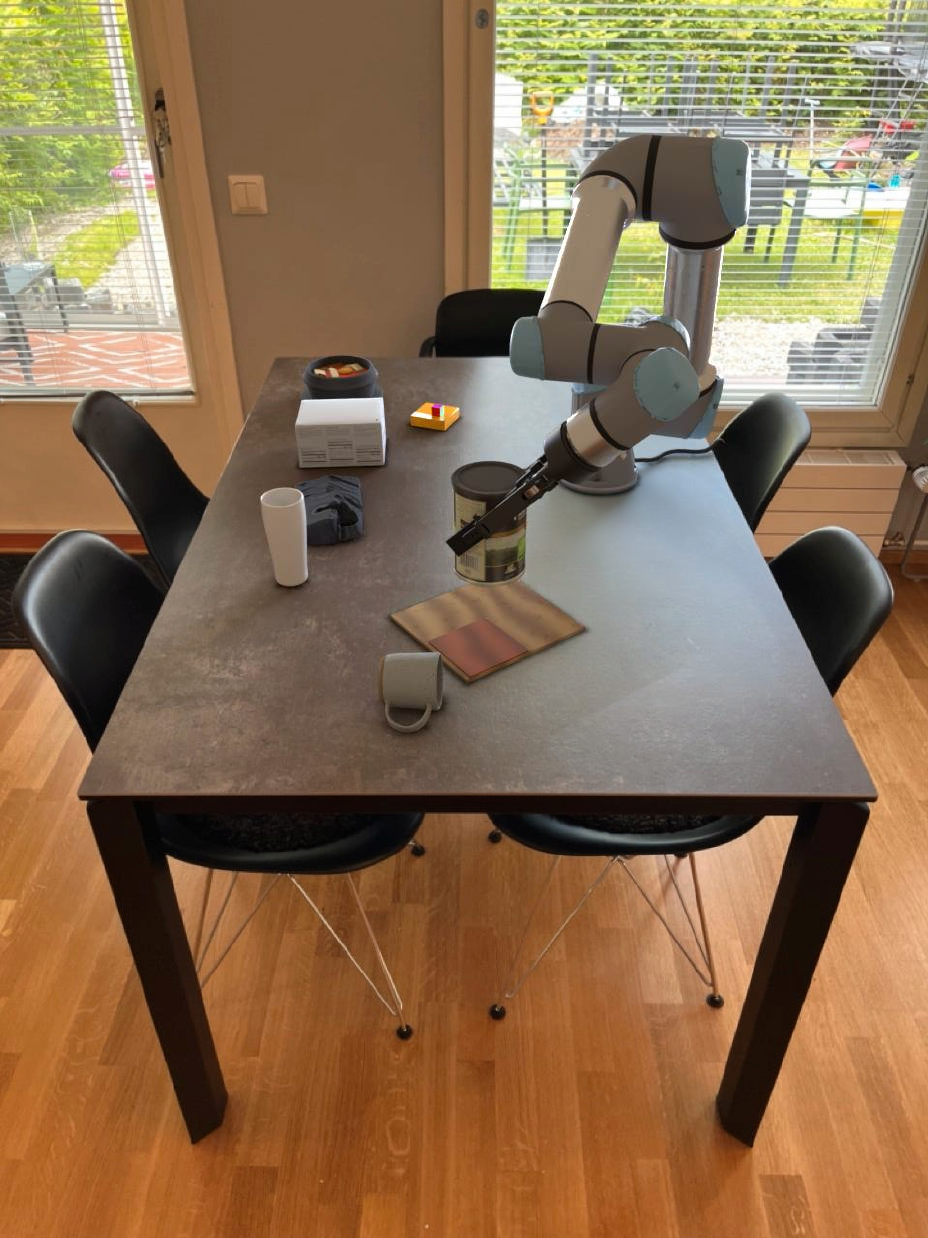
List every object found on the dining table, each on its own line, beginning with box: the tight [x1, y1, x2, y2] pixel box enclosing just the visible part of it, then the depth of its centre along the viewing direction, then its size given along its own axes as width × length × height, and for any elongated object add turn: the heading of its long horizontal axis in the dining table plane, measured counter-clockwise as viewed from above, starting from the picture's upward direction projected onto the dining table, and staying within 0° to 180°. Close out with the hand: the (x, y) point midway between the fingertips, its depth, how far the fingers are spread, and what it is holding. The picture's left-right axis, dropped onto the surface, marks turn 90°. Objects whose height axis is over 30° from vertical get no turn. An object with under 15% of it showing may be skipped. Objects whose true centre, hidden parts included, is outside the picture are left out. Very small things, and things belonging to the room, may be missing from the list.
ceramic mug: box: [377, 651, 445, 733], centre depth 129 cm, size 11×8×8 cm
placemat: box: [390, 579, 586, 684], centre depth 147 cm, size 22×20×1 cm
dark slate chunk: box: [293, 473, 364, 546], centre depth 175 cm, size 15×22×5 cm
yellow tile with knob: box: [410, 402, 460, 432], centre depth 209 cm, size 8×8×4 cm
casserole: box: [299, 354, 384, 401], centre depth 217 cm, size 25×19×8 cm
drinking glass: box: [259, 487, 309, 587], centre depth 154 cm, size 7×7×15 cm
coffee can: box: [450, 460, 528, 587], centre depth 132 cm, size 10×10×14 cm
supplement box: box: [294, 397, 387, 469], centre depth 195 cm, size 17×13×9 cm
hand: (469, 530), depth 134 cm, fingers closed on coffee can, 10 cm apart
